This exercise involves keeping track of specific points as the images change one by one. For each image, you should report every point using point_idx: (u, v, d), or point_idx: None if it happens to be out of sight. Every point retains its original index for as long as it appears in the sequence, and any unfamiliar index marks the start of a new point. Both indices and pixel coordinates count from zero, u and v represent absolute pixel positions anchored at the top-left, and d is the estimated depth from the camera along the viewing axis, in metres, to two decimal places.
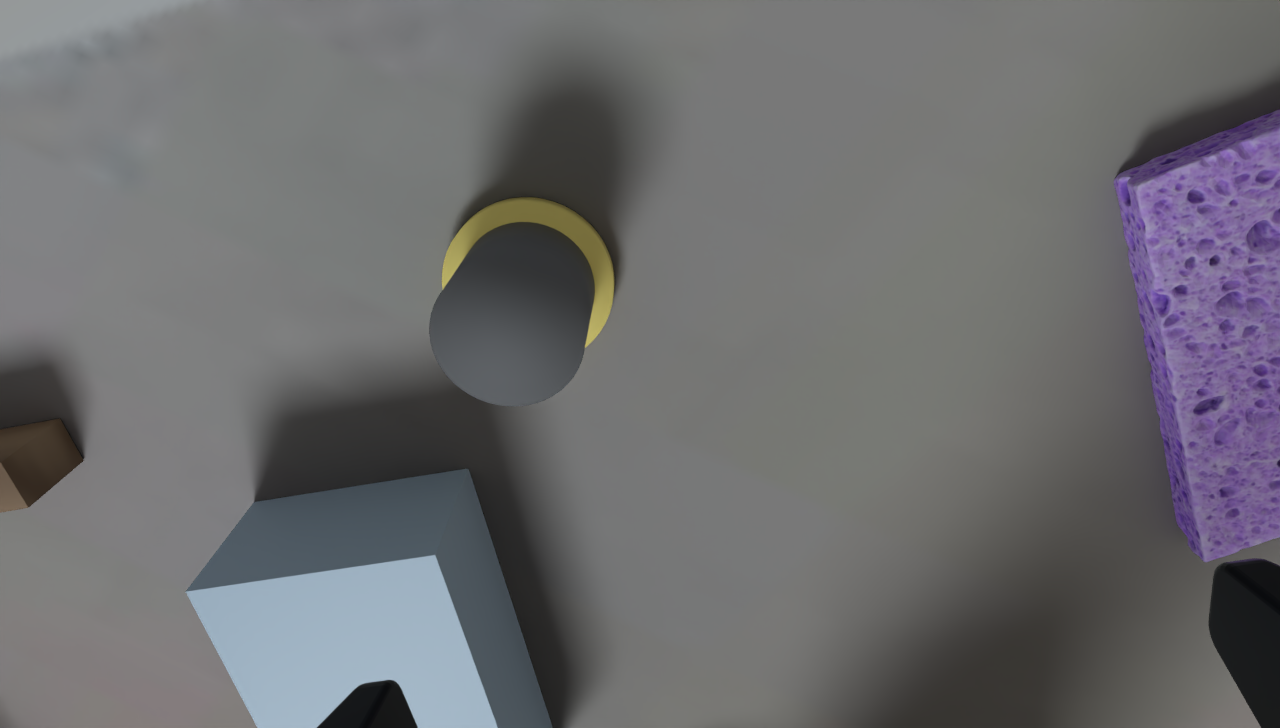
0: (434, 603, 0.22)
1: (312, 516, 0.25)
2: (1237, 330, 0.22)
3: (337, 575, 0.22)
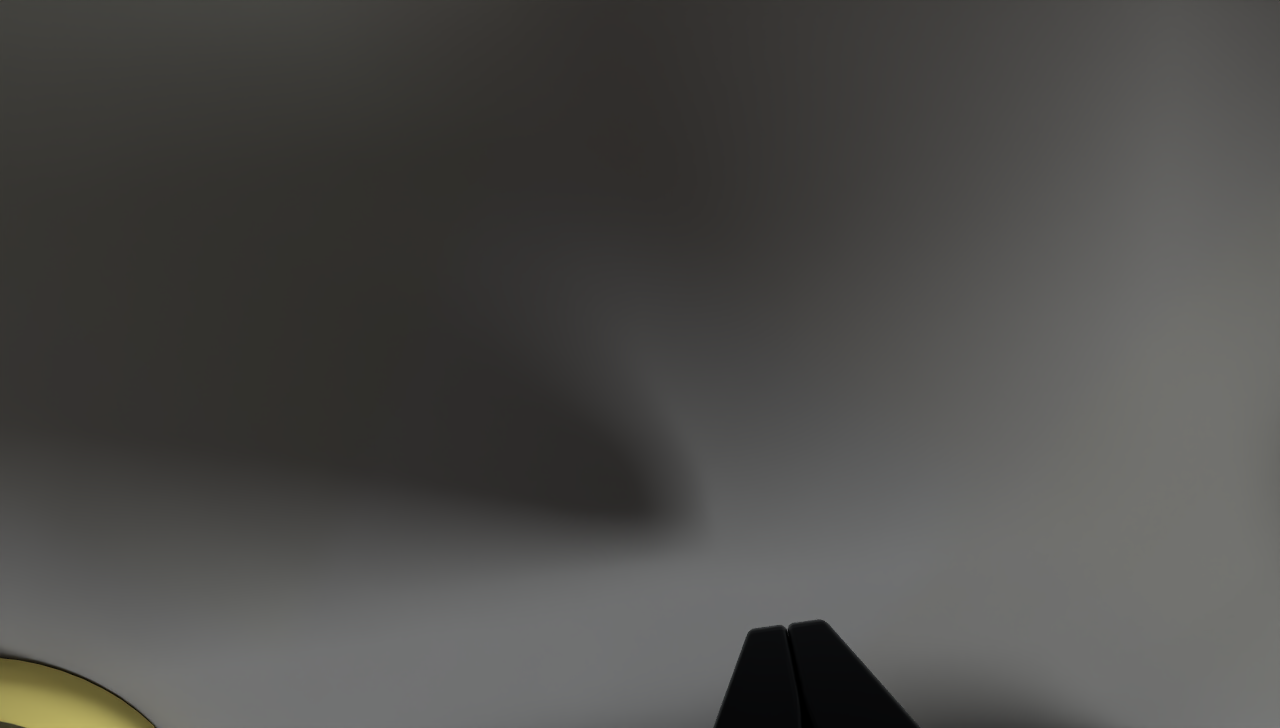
0: None
1: None
2: None
3: None
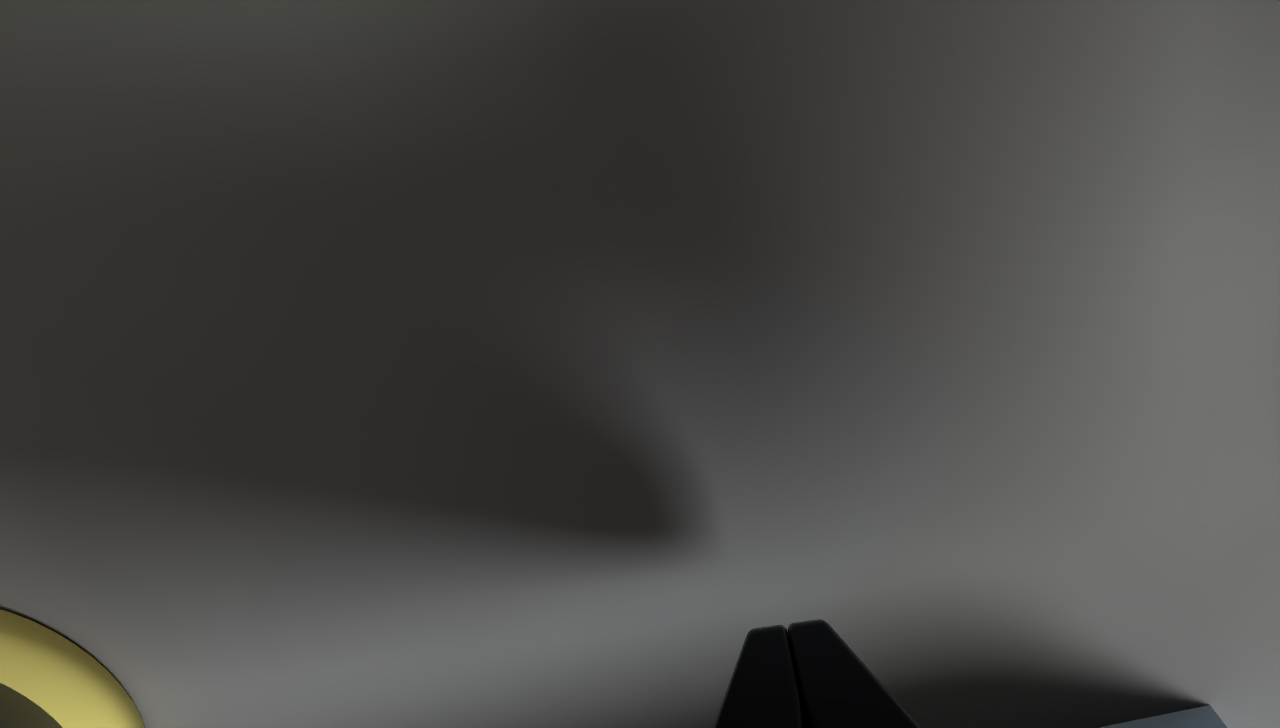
0: None
1: None
2: None
3: None
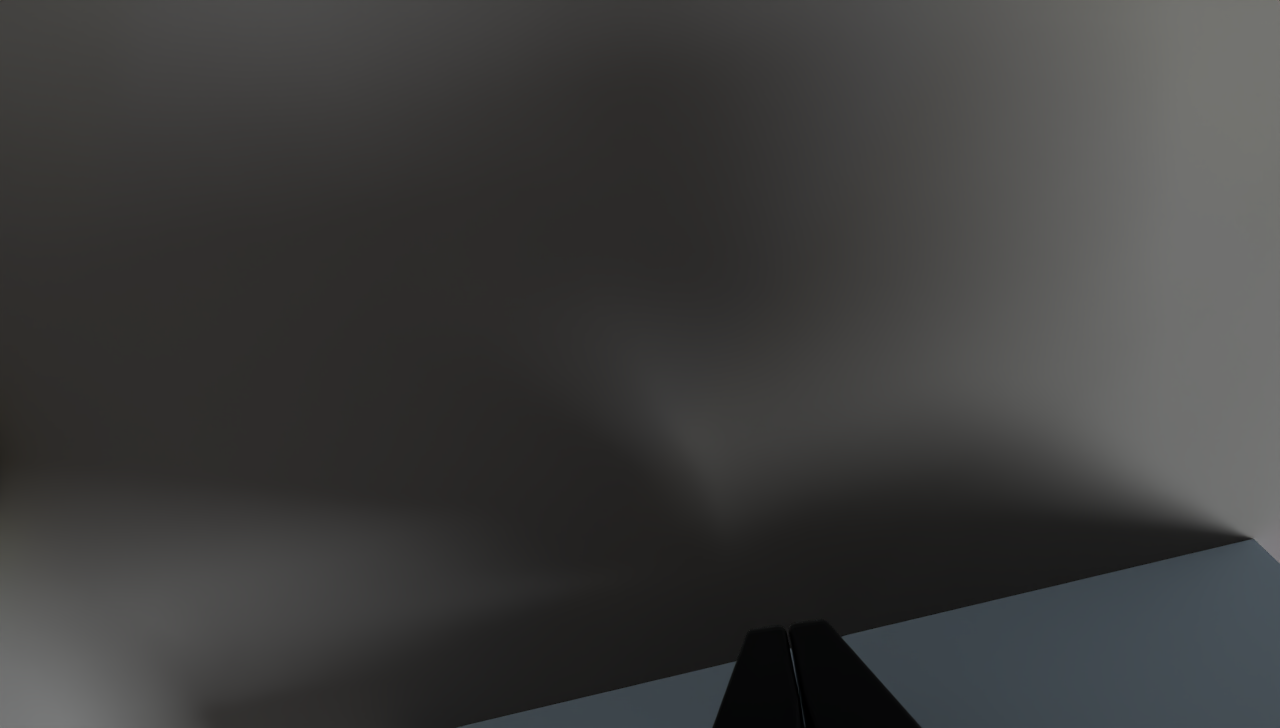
0: None
1: None
2: None
3: None
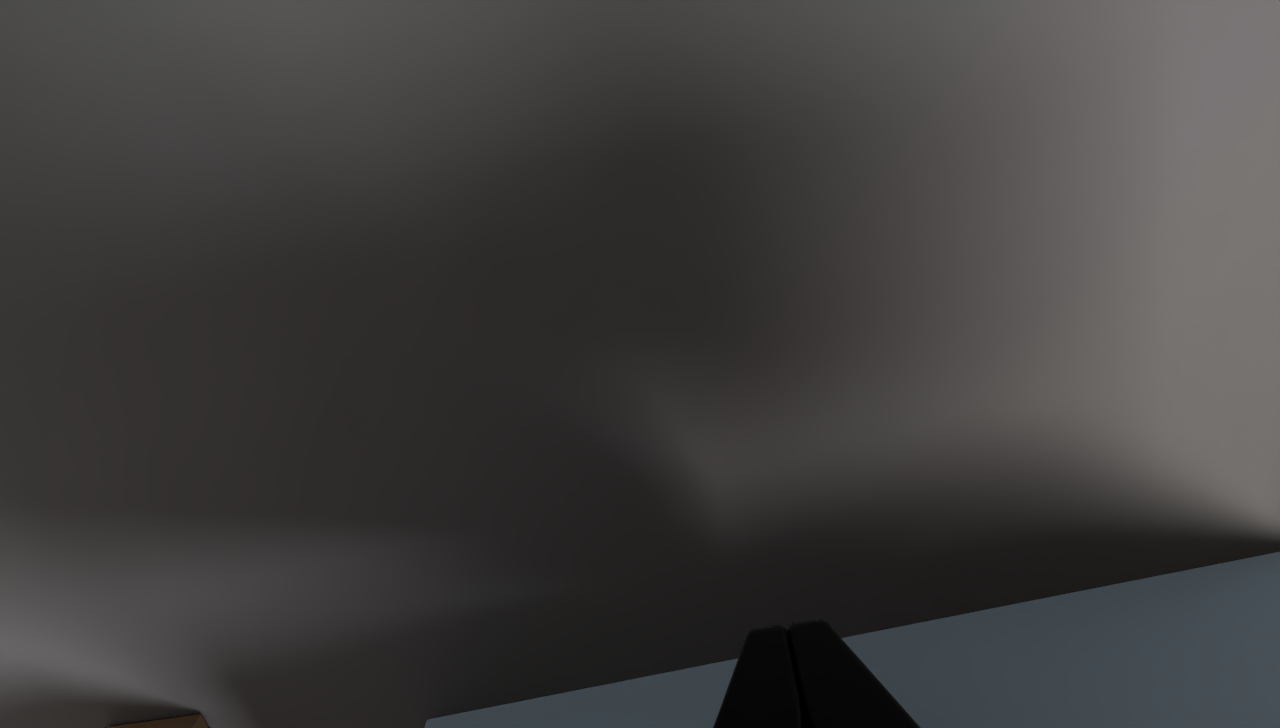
0: None
1: None
2: None
3: None
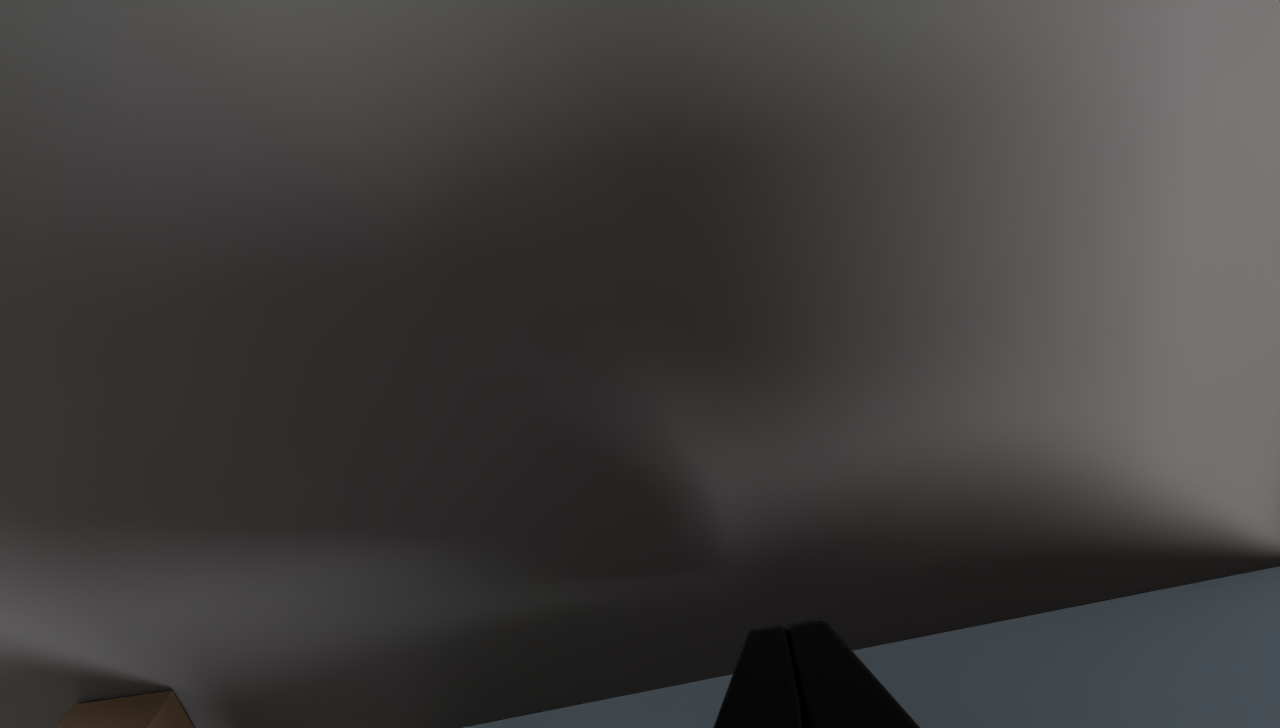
0: None
1: None
2: None
3: None
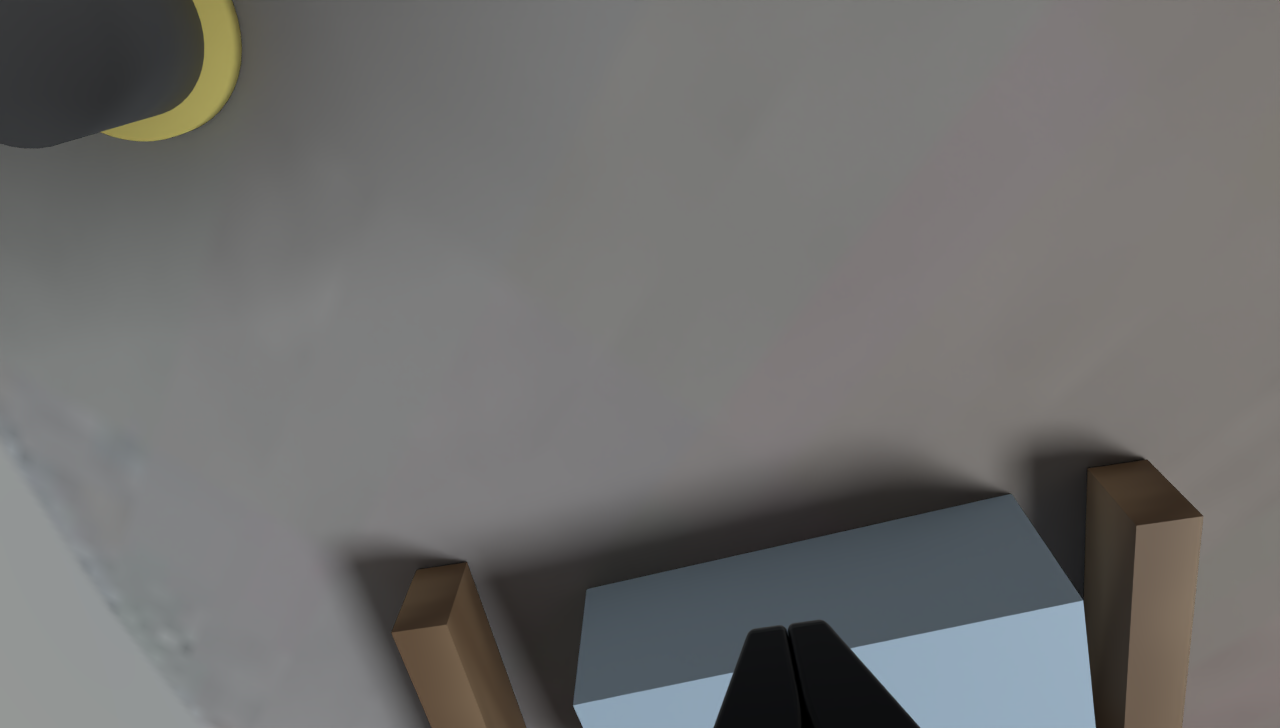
0: (640, 707, 0.20)
1: None
2: None
3: None
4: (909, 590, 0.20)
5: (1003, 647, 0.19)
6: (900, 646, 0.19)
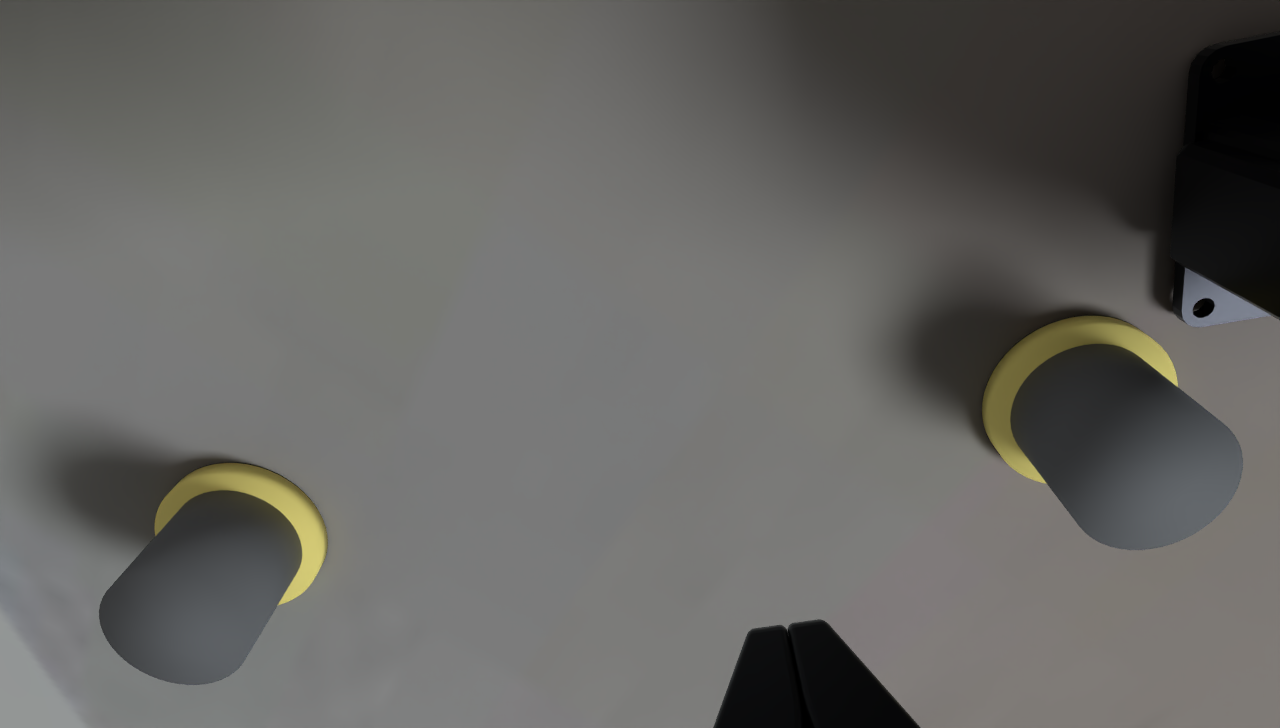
0: None
1: None
2: None
3: None
4: None
5: None
6: None
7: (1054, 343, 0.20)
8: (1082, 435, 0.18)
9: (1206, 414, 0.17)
